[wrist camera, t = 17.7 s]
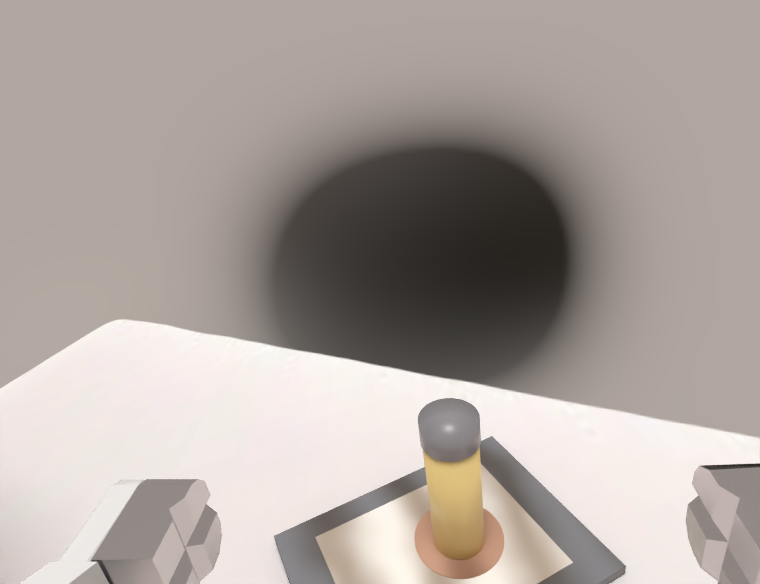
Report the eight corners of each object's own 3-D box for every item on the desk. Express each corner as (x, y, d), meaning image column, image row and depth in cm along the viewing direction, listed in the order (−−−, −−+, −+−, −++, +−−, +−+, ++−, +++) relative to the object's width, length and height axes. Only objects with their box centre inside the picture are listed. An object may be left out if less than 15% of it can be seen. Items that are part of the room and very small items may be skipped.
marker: (450, 570, 39) (437, 447, 34) (422, 529, 42) (407, 412, 37) (497, 545, 40) (492, 423, 35) (466, 507, 44) (457, 391, 38)
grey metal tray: (346, 748, 31) (344, 739, 30) (275, 542, 44) (273, 534, 44) (624, 573, 38) (625, 564, 38) (492, 442, 51) (491, 434, 51)
